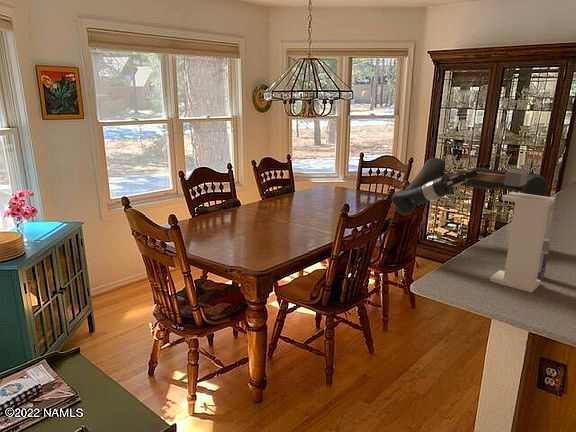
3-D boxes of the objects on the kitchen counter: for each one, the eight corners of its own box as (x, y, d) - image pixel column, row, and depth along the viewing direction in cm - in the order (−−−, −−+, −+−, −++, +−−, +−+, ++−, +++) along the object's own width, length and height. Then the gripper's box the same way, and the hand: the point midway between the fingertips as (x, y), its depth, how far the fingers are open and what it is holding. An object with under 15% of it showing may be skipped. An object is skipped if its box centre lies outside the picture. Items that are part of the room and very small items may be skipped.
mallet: (452, 177, 160) (454, 165, 159) (461, 175, 166) (462, 163, 165) (519, 186, 145) (521, 173, 144) (526, 183, 151) (528, 171, 150)
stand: (489, 281, 157) (502, 195, 149) (499, 273, 164) (511, 191, 156) (532, 292, 148) (547, 202, 139) (539, 284, 155) (555, 197, 146)
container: (538, 274, 163) (545, 237, 159) (546, 279, 159) (553, 241, 155) (526, 274, 163) (533, 237, 159) (534, 279, 159) (540, 241, 155)
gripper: (425, 182, 165) (466, 164, 153) (441, 177, 175) (481, 160, 163) (432, 200, 164) (475, 183, 152) (448, 194, 174) (489, 178, 162)
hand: (478, 171), depth 157 cm, fingers closed on mallet, 2 cm apart
